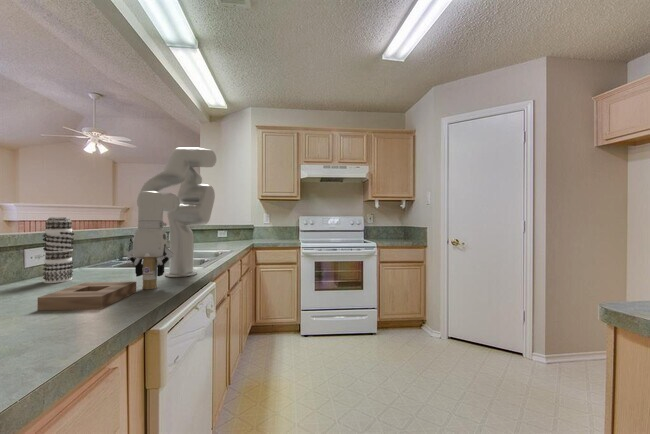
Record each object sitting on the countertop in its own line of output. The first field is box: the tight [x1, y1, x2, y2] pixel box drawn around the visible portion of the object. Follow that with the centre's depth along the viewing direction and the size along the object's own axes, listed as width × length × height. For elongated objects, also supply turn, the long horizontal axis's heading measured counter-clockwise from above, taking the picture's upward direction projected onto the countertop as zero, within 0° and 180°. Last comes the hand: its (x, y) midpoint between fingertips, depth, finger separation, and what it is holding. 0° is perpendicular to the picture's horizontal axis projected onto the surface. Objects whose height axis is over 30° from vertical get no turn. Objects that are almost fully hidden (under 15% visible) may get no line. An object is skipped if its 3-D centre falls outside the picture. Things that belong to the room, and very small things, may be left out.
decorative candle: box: [42, 216, 75, 284], centre depth 112 cm, size 9×9×25 cm
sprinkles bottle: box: [141, 253, 158, 290], centre depth 102 cm, size 5×5×14 cm
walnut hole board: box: [36, 281, 137, 311], centre depth 87 cm, size 18×16×4 cm
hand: (149, 275), depth 102 cm, fingers open, 6 cm apart
